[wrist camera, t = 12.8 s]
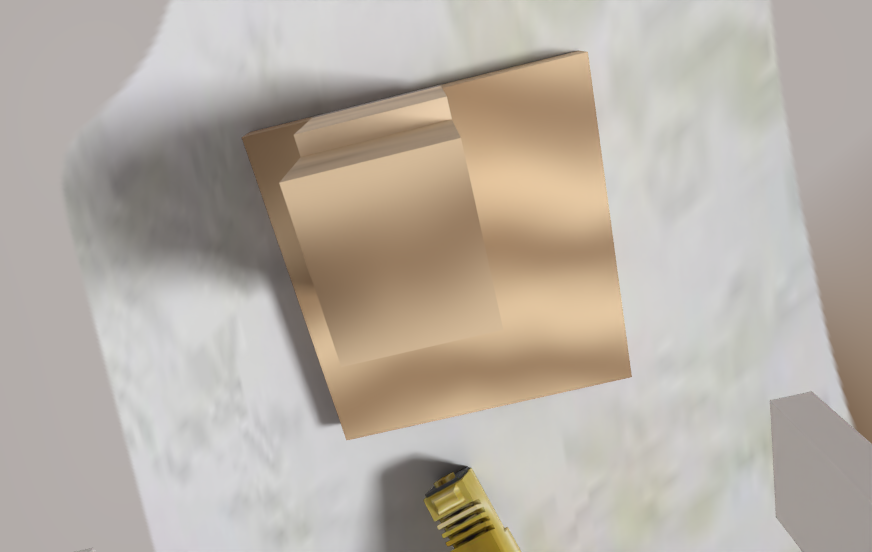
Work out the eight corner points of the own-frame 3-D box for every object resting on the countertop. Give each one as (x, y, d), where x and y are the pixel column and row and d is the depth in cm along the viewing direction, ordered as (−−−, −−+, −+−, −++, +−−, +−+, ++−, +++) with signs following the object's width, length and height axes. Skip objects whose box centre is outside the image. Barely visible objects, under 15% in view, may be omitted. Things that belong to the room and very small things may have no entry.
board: (622, 362, 33) (631, 377, 32) (349, 423, 34) (346, 440, 33) (578, 50, 27) (587, 51, 26) (249, 132, 28) (241, 137, 27)
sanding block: (479, 258, 29) (507, 350, 21) (365, 285, 30) (348, 387, 21) (440, 84, 26) (454, 110, 18) (313, 116, 27) (270, 156, 18)
